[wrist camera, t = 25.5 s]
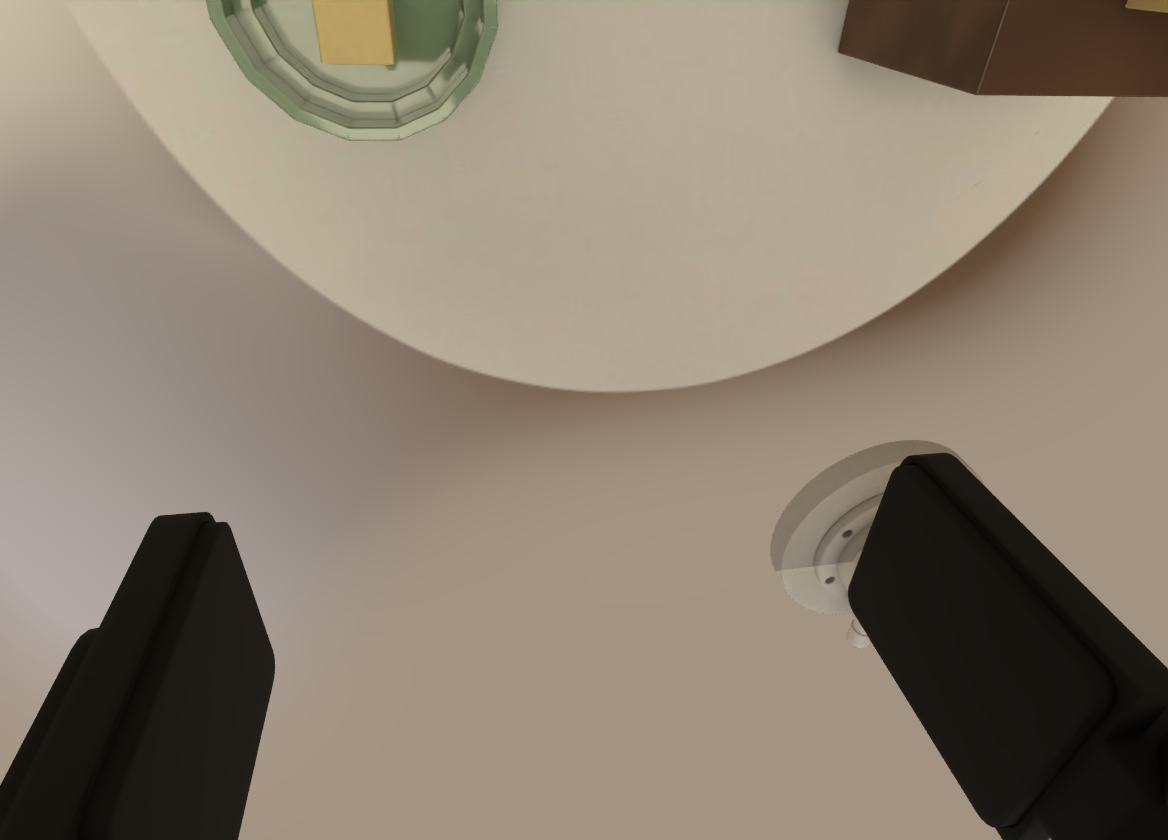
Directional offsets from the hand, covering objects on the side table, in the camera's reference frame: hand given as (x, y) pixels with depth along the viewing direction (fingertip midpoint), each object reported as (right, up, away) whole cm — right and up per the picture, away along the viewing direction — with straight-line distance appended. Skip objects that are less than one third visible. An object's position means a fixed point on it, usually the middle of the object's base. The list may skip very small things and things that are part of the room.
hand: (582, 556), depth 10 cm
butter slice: (-9, +19, +17) cm, 27 cm away
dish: (-9, +19, +17) cm, 27 cm away
